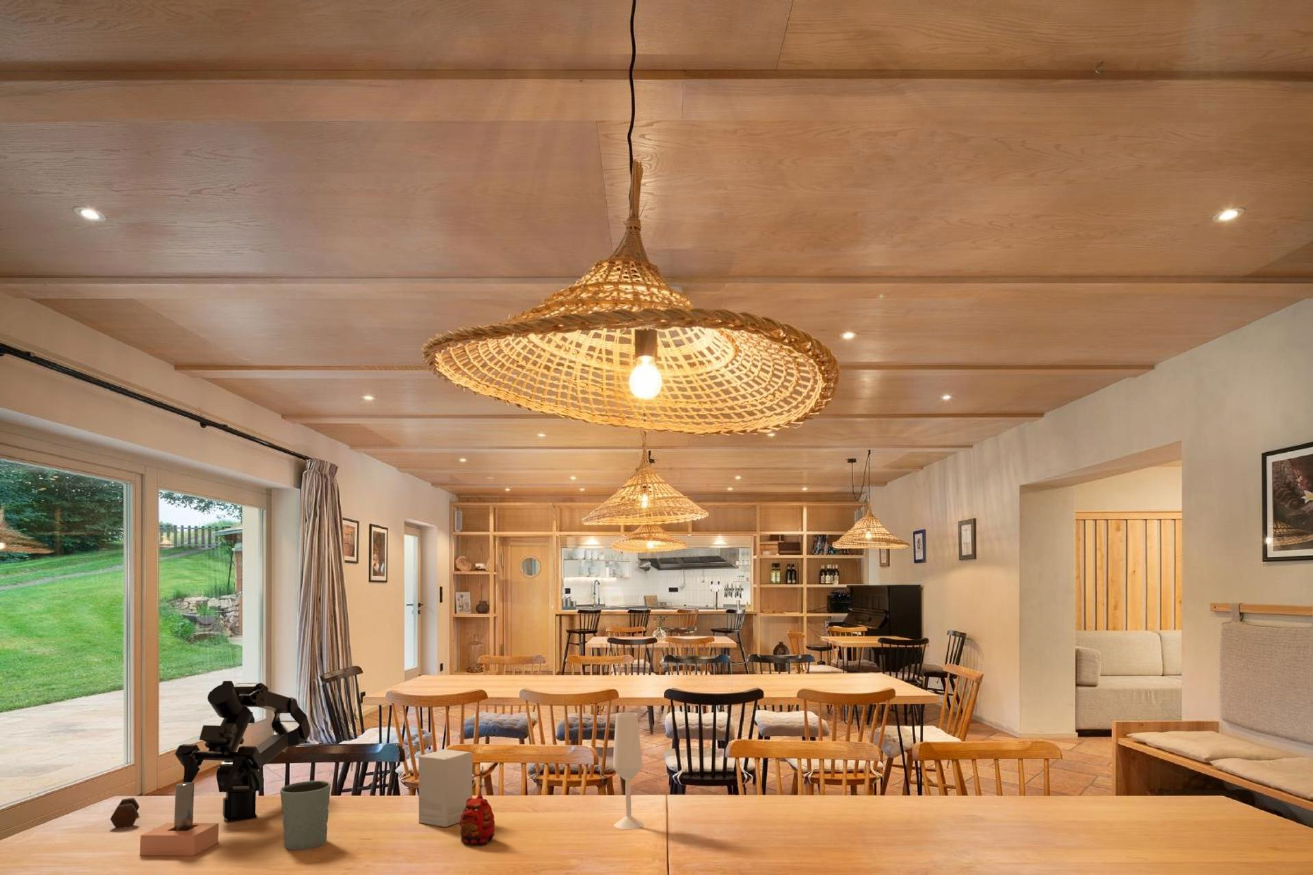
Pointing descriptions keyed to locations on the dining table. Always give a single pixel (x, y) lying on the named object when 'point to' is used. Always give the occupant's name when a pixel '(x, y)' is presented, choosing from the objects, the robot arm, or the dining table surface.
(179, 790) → the peg
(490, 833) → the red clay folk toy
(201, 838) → the socket block
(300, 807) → the green cup
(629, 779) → the champagne flute
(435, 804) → the supplement box
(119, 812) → the bolt
